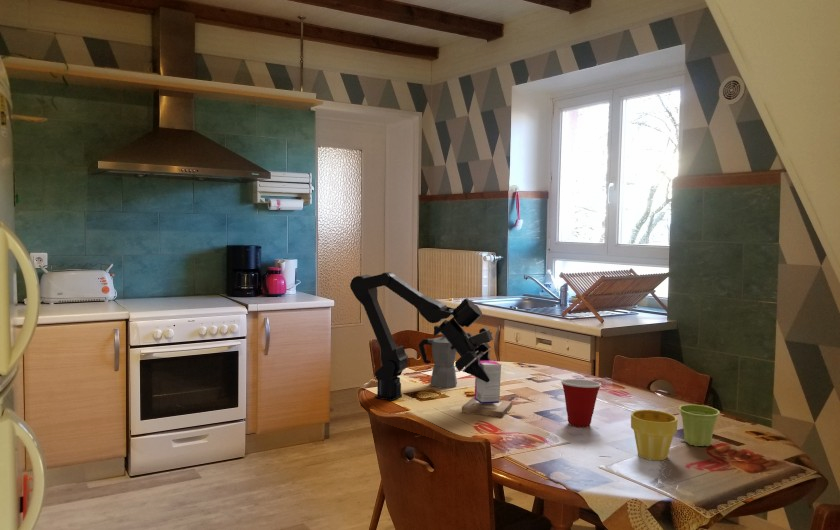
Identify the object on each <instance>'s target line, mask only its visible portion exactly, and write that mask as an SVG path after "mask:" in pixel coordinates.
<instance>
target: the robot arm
mask: <svg viewBox="0 0 840 530" xmlns="http://www.w3.org/2000/svg"><path fill="white" fill-rule="evenodd" d="M349 286H350V290H351V292H352V294H353V295H354V296H355V299H357V300H358V302H359V303H360V304H361V305H362V306H363V308H364V310H365V313H366V316H367V318H368V320H369V324H370V326H371V328H372V330H373V332H374V336H375V338H376V341H377V342H378V346H379V349H380V362H381V366H380V367H379V368H378V369H377V370H376V371H375V372H374V375H375V378H376V380H377V389H376V390H377V391H376V394H375V395H374V398H377V399H381V400H385V401H386V400H387V401H394V400H396V399H399V398H401V397H403V394H402V383H401V377H399V376H401V375H402V373H403V371H404V370H405V369H406V368H407V366H408V364H409V363H408V358H409V356H408V354H407V353H406V351H405V347H404V345H400V346H399V345H398V344H397V343H396V342H395V340H394V337H393V336H392V332H391V331H390V327H389V325H388V323H387V321H386V317H385V316H384V313H383V310H382V308H381V305H380V303H379V300H378V288H380V287H385V288H388V289H389V290H390V291H392V292H393V293H394V294H396V295H398V296H399V298H401V299H403V300H405V301H406V302H408V303H409V304H410V305H412V306H414V308H416V310H417V311H418V313H419V314H420V315H421V316H422V317H423V318H424V319H425V320H426V321H427V322H428V323H430V324H437V323H440V322H441V323H440V324H439V325H434V326H433V334H432V335H433V336H435V337H436V336H438V335H439V334H441V335H442V337H443V336H444V337H445V338H446V339H447V341H448V342H449V343H450V344H451V345H452V346H451V347H450V348H451V349H452V350H453V349H455V350H456V351H457V352H456V353H457V354H458V355H459V356H460V357H459V358H458V359H456V360H455V361H454V366H455V369H456V370H458V372H461V371H462V373H466V374H469V375H471V376H473V377H477V378H479V379H481V380H483V381H485V382H489V381H490V379H489V377H488V376H487V374H486V373H485V371H484V370H483V368H482V366H481V365H480V361H489V360H491V358H490V353H491V345H489V343H490V342H492V341H493V340H494V337H493V332H492V331H491V330H490V329H488V328H486V327H483V328H480V329H479V330H478V332H479V333H475V334H473V335H472V333H471V332H466V331H465V330H464V327H465V328H469V327H471V326H472V325H473V324H474V323H475V322H476V321H477V320H478V319H479V318H480V317H482V316H483V313H482V310H481V308H480V307H479V306H478V305H477V304H475V303H474V302H472V300H469V298H464V299H463V300H462V301H461V302H460V303H459V305H457V306H456V307H455V308H454V307H451V306H447V304H446V303H444V302H441V301H439V300H437V299H435V298H432V297H429V296H426V295H424V293H421V292H420V291H419V290H417V289H416V288H414V287H413V286H411V285H410V284H408V283H406V282H405V281H404V280H403V279H401V278H399V277H398V276H397V275H395V273H394V272H391V271H388V272H383V273H381V274H377V275H370V274H363V275H357V276H355V277H353V278H352V279H351V282H350V283H349ZM448 318H450V320H447V319H448ZM442 321H443V322H442Z"/></svg>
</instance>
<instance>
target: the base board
mask: <svg viewBox="0 0 840 530" xmlns="http://www.w3.org/2000/svg"><path fill="white" fill-rule="evenodd" d="M474 397H475V396H473V397H471V398H470V399H469V400H468V401H467V402H466V403H465V404H463V405H462V406H461V413H464V412H466V413H467V414H472V413H474V415H480V414H483V415H482V416H488V415H491V417H496V416H498V418H504V416H505V415H506V414H507V413H508V412H509V411H510V410H511V408H512V407H513V401H509V400H502V399H500V400H499V403H490V404H481V403H480V402H478V401H477V400H475V399H474ZM508 410H509V411H508ZM507 411H508V412H507Z"/></svg>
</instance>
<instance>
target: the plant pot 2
mask: <svg viewBox="0 0 840 530" xmlns="http://www.w3.org/2000/svg"><path fill="white" fill-rule="evenodd" d="M678 410H679V411H680V416H681V419H682V428H683V437H684V438H683V439H684V442H685V443H688V445H690V446H692V445H694V447H697V446H702V447H709V446H711V443H712V438H713V434H714V430H715V429H714V428H715V425H716V421H717V419H718V416H719V415H720V414H721V413H720V410H718V409H717V408H714V407H712V406H708V405H703V404H701V405H700V404H683V405H680V406H679V408H678Z"/></svg>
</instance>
